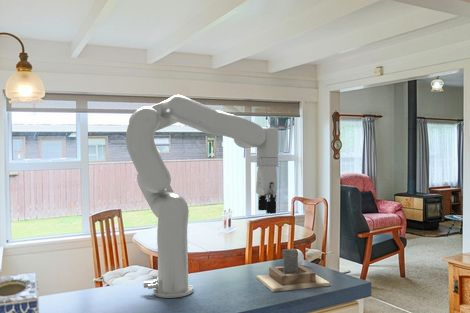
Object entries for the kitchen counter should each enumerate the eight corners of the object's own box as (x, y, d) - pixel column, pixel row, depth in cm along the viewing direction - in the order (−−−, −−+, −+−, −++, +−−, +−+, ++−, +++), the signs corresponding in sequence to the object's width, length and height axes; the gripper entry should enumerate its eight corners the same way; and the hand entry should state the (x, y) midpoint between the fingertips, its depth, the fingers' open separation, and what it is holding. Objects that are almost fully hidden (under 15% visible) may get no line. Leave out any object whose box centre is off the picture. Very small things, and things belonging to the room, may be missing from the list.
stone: (299, 280, 144) (299, 250, 144) (282, 279, 145) (282, 250, 145) (298, 277, 148) (298, 248, 148) (282, 277, 148) (282, 248, 148)
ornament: (301, 268, 163) (288, 253, 163) (291, 271, 169) (279, 256, 169) (310, 257, 167) (298, 242, 167) (300, 260, 173) (288, 246, 173)
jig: (272, 291, 136) (272, 279, 136) (256, 278, 151) (256, 267, 151) (329, 285, 141) (329, 273, 141) (308, 273, 156) (308, 262, 156)
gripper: (250, 162, 158) (249, 209, 157) (264, 162, 141) (264, 214, 141) (269, 163, 160) (269, 209, 159) (286, 162, 143) (285, 214, 142)
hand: (266, 211), depth 150 cm, fingers open, 9 cm apart
